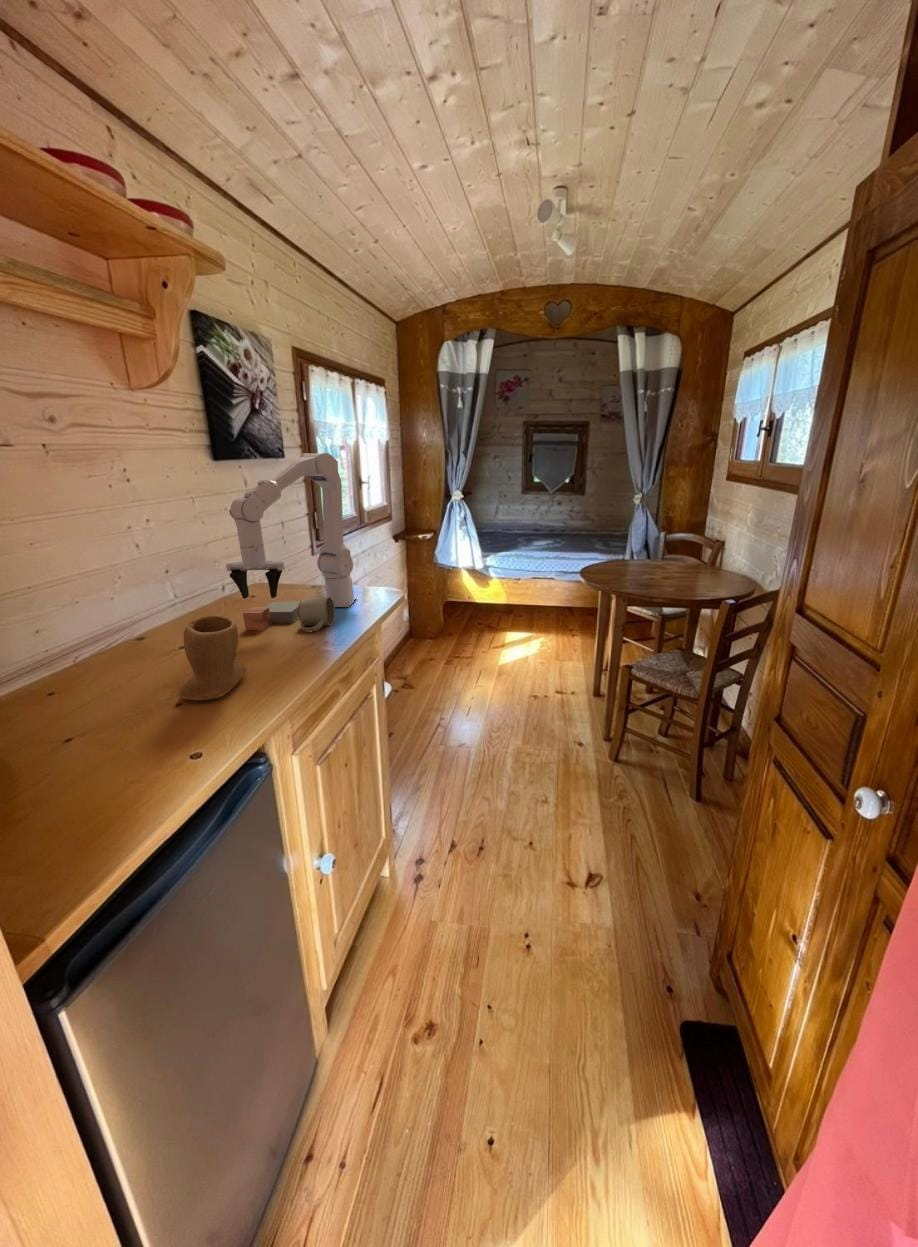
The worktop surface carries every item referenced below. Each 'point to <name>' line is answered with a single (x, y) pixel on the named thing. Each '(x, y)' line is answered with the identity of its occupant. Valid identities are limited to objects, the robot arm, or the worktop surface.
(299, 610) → the ceramic mug
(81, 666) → the worktop surface
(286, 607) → the grey block
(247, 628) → the red cube
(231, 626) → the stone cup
